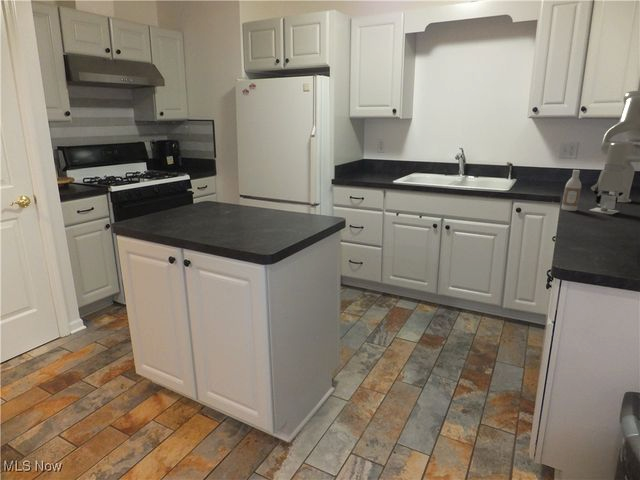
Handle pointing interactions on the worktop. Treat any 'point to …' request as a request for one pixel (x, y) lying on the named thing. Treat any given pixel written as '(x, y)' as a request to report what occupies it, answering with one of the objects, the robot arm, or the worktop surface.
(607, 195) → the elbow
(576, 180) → the bath foam
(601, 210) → the duct stub
